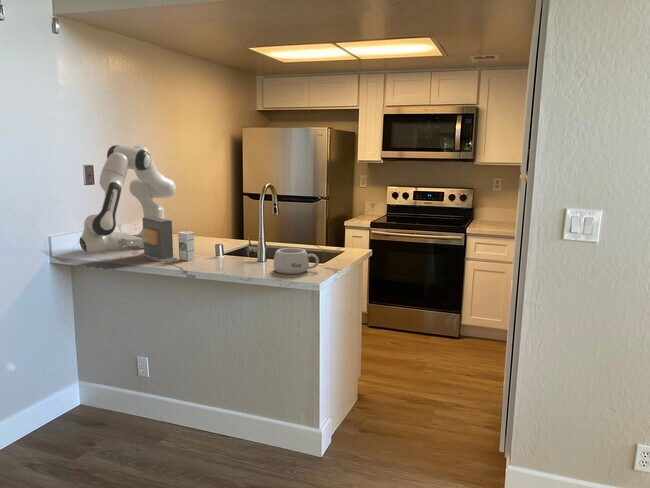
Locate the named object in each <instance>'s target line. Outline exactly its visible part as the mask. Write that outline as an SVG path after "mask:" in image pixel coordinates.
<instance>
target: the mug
mask: <svg viewBox="0 0 650 488" xmlns="http://www.w3.org/2000/svg"><path fill="white" fill-rule="evenodd" d="M310 257H313V258H314V259H315V263H314V264H312V265H310V263H309V261H310V260H309V258H310ZM319 262H320V259H319V257H318V256H317V254H314V253H308V252H307V251H306V249H302V248H299V247H286V248H285V247H282V248H279V249H277V250H276V251H275V253H274V257H273V269H274V271H275V272H276V273H279V274H283V275H297V274H303V273H306V272H307V271H308V270H311V269H314V268H316V267H318V266H319V264H320V263H319Z"/></svg>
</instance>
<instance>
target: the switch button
mask: <svg viewBox="0 0 650 488" xmlns="http://www.w3.org/2000/svg"><path fill="white" fill-rule="evenodd" d="M141 231H143V237H147V241H144V242H146V243H149V244H152V245H158V230H154V229H150V228H143V227H142V228H141Z"/></svg>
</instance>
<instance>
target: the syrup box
mask: <svg viewBox="0 0 650 488" xmlns="http://www.w3.org/2000/svg"><path fill="white" fill-rule="evenodd" d="M177 235H178V254H179V255H178V257H179V259H178V260H179V261H185V262H190V261H193V260H195V259H196V258H195V257H196V256H195V232H194V231H187V230H182V231H180V232H179V231H178V232H177Z"/></svg>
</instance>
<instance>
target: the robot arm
mask: <svg viewBox="0 0 650 488" xmlns="http://www.w3.org/2000/svg"><path fill="white" fill-rule="evenodd" d="M106 158H107V159H106V161H105V163H104V166H103V167H102V170H101V172H100V176H99V183H98V184H99V186H100V187H101V189H102V190H103V191H104V194H105V195H104V199H103V202H102V206H101V209H100V210H101V211H100V212H99V213H98V214H91V215H88V216H87V217H86V218H85V220H84V223H83V226H84V227H83V232H82V234H81V236H80V237H79V240H78V241H79V245H80V248H81V249H82V251H83V252H85V253H89V254H91V253H102V252H105V251H117V250H121V249H122V248H123V247H124V246H125V247H138V248H139V249H144V241H147V237H143V231H142V230H141V231H140V232H139V233H138V234H129V233H127V232H120V231H115V230H116V226H117V224H116V223H117V222H116V215H117V210H118V206H119V202H120V198H121V193H122V189H123V185H124V183H125V180H126V177H127V173H128V170H134V173H135V175H136V177H137V178H136V179H135V178H134V179H132V181H130V183H129V193H130V194H131V195H132V196H133V197H135V199H136V200H138V202H139V203H140V205H141V207H142V212H143V218H145V217H157V218H161V219H165V210H164V207H163V206H162V205H161V204H159V203H157V202H156V201H155V199H165V198H170V197H174V195H175V194H176V191H177V185H176V183H175V181H173V180H172V179H170V178H167V176H165V175H163V174H162V173H161V172H160V171H159V170H158V169H157V166H156V164H155V162H154V159H153V156H152V155H151V153H150V152H149V150H148V149H147V147H145V146H144V145H135V146H133V147H132V146H122V145H119V144H118V145H117V144H116V145H111V147H109V149H108V150H107V153H106Z"/></svg>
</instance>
